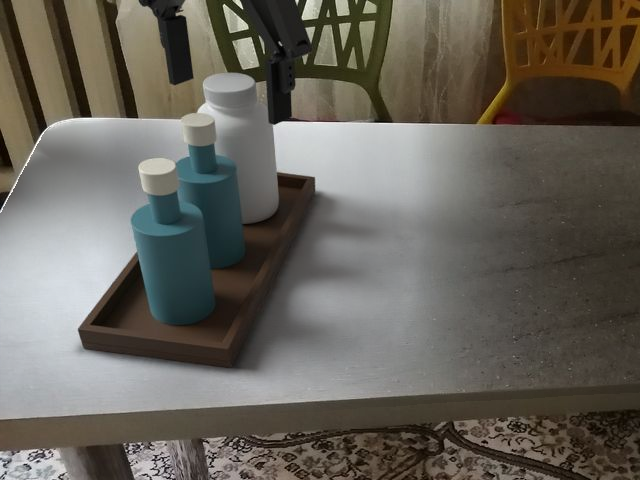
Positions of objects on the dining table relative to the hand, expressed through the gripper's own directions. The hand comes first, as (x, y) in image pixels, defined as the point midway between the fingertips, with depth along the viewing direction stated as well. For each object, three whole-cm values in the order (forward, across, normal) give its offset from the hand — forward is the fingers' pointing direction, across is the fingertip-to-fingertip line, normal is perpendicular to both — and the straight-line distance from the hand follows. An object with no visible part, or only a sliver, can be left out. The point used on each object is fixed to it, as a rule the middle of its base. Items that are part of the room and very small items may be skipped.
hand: (229, 100), depth 78 cm
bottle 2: (+13, -4, +8) cm, 16 cm away
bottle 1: (+13, -8, +17) cm, 23 cm away
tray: (+14, -4, +8) cm, 17 cm away
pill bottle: (+13, 0, 0) cm, 13 cm away
